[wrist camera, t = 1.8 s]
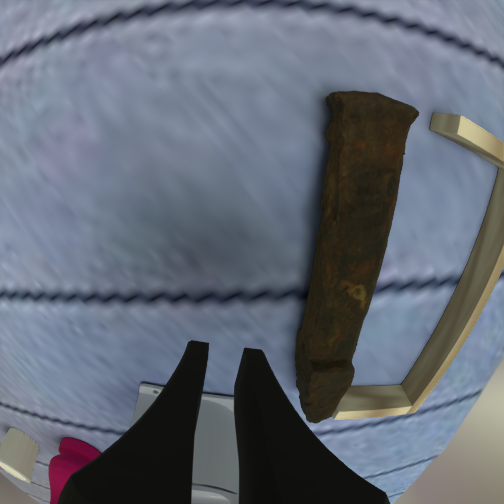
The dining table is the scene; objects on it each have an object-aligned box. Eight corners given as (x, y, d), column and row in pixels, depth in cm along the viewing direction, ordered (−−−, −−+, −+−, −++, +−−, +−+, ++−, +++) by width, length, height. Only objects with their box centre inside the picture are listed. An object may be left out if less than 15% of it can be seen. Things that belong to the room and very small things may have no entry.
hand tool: (317, 88, 15) (351, 77, 10) (390, 107, 16) (443, 108, 11) (263, 384, 25) (268, 437, 19) (317, 384, 25) (329, 434, 20)
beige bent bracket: (326, 394, 25) (333, 419, 22) (432, 113, 16) (461, 115, 13) (404, 391, 26) (414, 412, 24) (509, 158, 17) (535, 167, 14)
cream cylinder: (23, 447, 31) (12, 477, 25) (-1, 422, 29) (-16, 453, 22) (50, 453, 31) (38, 487, 25) (24, 428, 28) (8, 463, 22)
